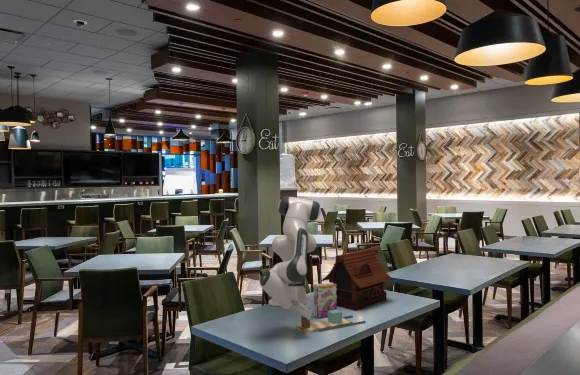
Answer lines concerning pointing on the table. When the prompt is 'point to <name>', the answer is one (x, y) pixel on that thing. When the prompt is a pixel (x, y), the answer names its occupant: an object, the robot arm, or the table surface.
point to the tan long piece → (317, 325)
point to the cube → (334, 316)
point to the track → (342, 325)
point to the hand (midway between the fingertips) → (306, 317)
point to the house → (358, 279)
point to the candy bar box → (324, 299)
